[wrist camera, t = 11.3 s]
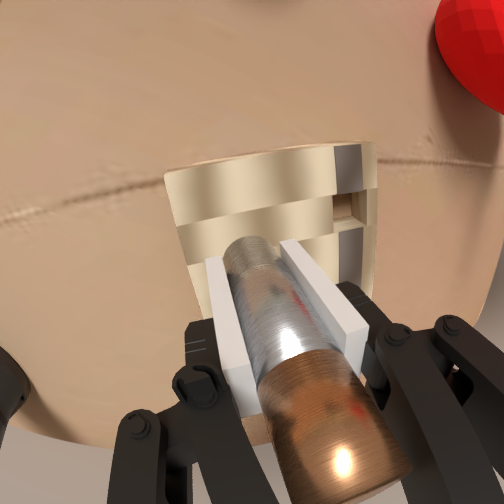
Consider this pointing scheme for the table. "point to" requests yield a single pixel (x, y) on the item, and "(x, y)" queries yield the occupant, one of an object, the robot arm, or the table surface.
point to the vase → (474, 46)
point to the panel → (280, 208)
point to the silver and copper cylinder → (308, 387)
